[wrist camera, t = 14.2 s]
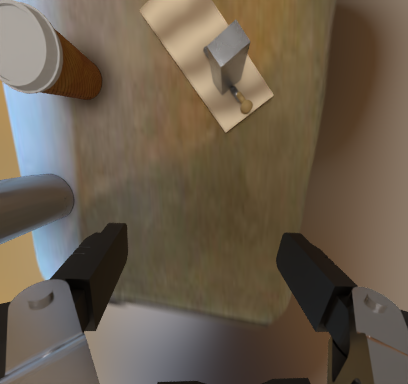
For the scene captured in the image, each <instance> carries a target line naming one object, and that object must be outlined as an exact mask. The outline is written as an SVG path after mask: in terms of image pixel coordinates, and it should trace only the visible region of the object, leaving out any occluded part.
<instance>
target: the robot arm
mask: <svg viewBox="0 0 408 384" xmlns="http://www.w3.org/2000/svg"><path fill="white" fill-rule="evenodd" d="M73 202H74V199H73V194H72V191H71V189H70V187H69V186H68V184H67V183H66V182H65V181H64V180H63V179H61V178H60V177H58V176H56V175H53V174H43V175H36V176H34V175H31V176H24V177H18V178H11V179H4V180H0V244H2V243H5V242H7V241H9V240H12V239H14V238H16V237H19V236H21V235H23V234H26V233H28V232H30V231H33V230H35V229H37V228H39V227H42V226H44V225H46V224H49V223H51V222H53V221H56V220H58V219H60V218H63V217H65V216H66V215H68V214H69V213H70V211H71V210H72V207H73ZM127 255H128V239H127V225H126V224H125V223H108V224H107V226H106V227H105V228H104V230H103V231H102V232H101V233H94V234H92V235H91V236H89V237H87V238H86V239H85V240H84V241H83V242H82V243H81V244H80V245H79V248H77V249H76V250H75V251H74V252H73V255H71V256H70V257H69V258H68V259H67V260H66V261H65V263H64V264H63V265H62V266H61V267H60V268H59V269H58V270H57V272H56V273H55V274H54V275H53V276H52V277H51V278H50V280H46V281H42V282H39V283H36V284H34V285H32V286H30V287H28V288H26V289H24V290H23V291H22V292H21V293H19V294H18V295H17V296H16V297H15V298H14V299H13V300H12V301H11V302H7V303H3V304H0V384H100V383H99V380H98V377H97V373H96V370H95V366H94V363H93V360H92V356H91V353H90V349H89V346H88V343H87V339H86V337H85V334H84V331H96V329H97V327H98V324H99V322H100V320H101V318H102V316H103V313H104V311H105V309H106V307H107V304H108V302H109V300H110V298H111V295H112V293H113V291H114V289H115V286H116V284H117V282H118V280H119V277H120V275H121V273H122V271H123V268H124V266H125V264H126V261H127ZM276 263H277V267H278V270H279V271H280V273H281V275H282V276H283V278H284V280H285V281H286V283H287V285H288V286H289V288H290V290H291V291H292V293H293V295H294V296H295V298H296V300H297V301H298V303H299V305H300V306H301V308H302V310H303V311H304V313H305V315H306V316H307V318H308V320H309V321H310V323H311V325H312V326H313V328H314V330H315V331H316V332H329V333H330V335H331V337H330V339H329V342H328V370H327V384H408V312H406V311H403V310H400V309H399V308H398V307H397V306H396V305H395V304H394V303H393V302H392V301H390V300H389V299H388V298H387V297H385V296H383V295H382V294H380V293H378V292H376V291H374V290H372V289H369V288H365V287H358V286H357V285H356V284H355V283H354V282H353V281H352V280H351V279H350V278H349V277H348V276H347V275H346V274H345V273H344V272H343V271H342V270H341V269H340V268H339V267H338V266H336V265H335V264H334V262H333V261H331V260H330V259H329V258H328V257H327V255H325V254H324V253H323V252H322V251H321V250H320V249H319V248H317V247H316V246H314V245H312V244H311V243H310V242H309V241H308V240H307V239H306V238H305V237H304V236H303V235H302V234H300V233H284V234H283V236H282V239H281V243H280V247H279V250H278V254H277V258H276ZM157 384H205V383H201V382H198V381H181V382H158V383H157ZM262 384H310V382H309V379H308V378H293V379H292V378H289V379H272V380H269V381H267V382H265V383H262Z"/></svg>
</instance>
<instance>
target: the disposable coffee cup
mask: <svg viewBox="0 0 408 384" xmlns="http://www.w3.org/2000/svg"><path fill="white" fill-rule="evenodd" d="M0 80H1V81H3V82H4V83H5V84H7V85H8V86H9V87H11V88H12V89H14V90H17V91H19V92H23V93H29V94H30V93H38V92H42V93H47V94H54V95H60V96H67V97H73V98H79V99H85V100H88V99H92V98H94V97H95V96H97V94H98V93H99V91H100V89H101V86H102V78H101V74H100V71H99V69H98V68H97V66H96V65H95V64H94V63H92V62H91V61H90V60H89V59H88V58H87V57H86V56H85V55H83V54H82V53H81V52H80V51H79V50H78V49H77V48H76V47H74V46H73V45H72V44H71V43H70V42H69V41H68V40H66V39H65V38H64V37H63V36H62V35H61V34H60V33H59V32H57V31H56V30H55V29H54V28H53V27H52V25H51V23H50V22H49V21H48V20H47V18H46V17H45V16H44V15H43V14H42V13H41V12H39V11H38V10H37V9H36V8H34V7H32V6H30V5H28V4H25V3H22V2H16V1H14V0H0Z"/></svg>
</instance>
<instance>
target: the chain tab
mask: <svg viewBox="0 0 408 384" xmlns="http://www.w3.org/2000/svg"><path fill="white" fill-rule="evenodd" d="M249 45H250V40H249V39H248V37H247V36H246V34H245V33H244V31H243V30H242V28H241V26H240V25H239V23H238V22H237V20H235V21H234V22H233V23H231V24H230V25H229V26H228V27H227V28H226V29H225V30H224V31H223V32H222V33H220V34H219V35H218V36H217V37H216V38H215V39H214V40H213V41H212V42H211V43H210V44H208V45H207V46H205V47H204V48H203V52H204V54H205V55H206V57H207V58H208V59H209V63H210V68H211V74H212V80H213V83H214V84H215V86H216V87H217V89H218V90H219V92H220V93H221V95H223V94H224V93H226V92H227V91H228V90H229V89H230V92H231V93H232V95H233V96H234V97H235V99H236V100H237V102H240V101H239V99H238V98H237V96H236V94H237V92H239V91H238V89H237V88H236V87H235V86H234V85H235V84H236V83H238V82H239V81H240V80H241V77H242V73H243V69H244V65H245V61H246V57H247V53H248V49H249Z"/></svg>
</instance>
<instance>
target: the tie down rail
mask: <svg viewBox="0 0 408 384" xmlns="http://www.w3.org/2000/svg"><path fill="white" fill-rule="evenodd" d="M139 11H140V12H141V14H142V15H143V17H144V19H145V20H146V21H147V23H148V24H149V26H150V27H151V28H152V30H153V31H154V33H155V34H156V35H157V37H158V38H159V40H160V41H161V42H162V44H163V45H164V47H165V48H166V50H167V51H168V52H169V54H170V55H171V57H172V58H173V59H174V61H175V62H176V64H177V65H178V66H179V68H180V69H181V71H182V72H183V74H184V75H185V76H186V78H187V79H188V81H189V82H190V83H191V85H192V86H193V88H194V89H195V90H196V92H197V93H198V95H199V96H200V98H201V99H202V100H203V102H204V103H205V105H206V106H207V107H208V109H209V110H210V112H211V113H212V114H213V116H214V117H215V119H216V120H217V122H218V123H219V124H220V126H221V127H222V129H223V130H224V131H225V133H226V132H228V131H229V130H230V129H232V128H233V127H234V126H235V125H237V124H238V123H239V122H241V121H242V120H243V119H244V118H246V117H247V116H248V115H250V114H251V113H252V112H253V111H255V110H256V109H257V108H259V107H260V106H261V105H262V104H264V103H265V102H266V101H268V100H269V99H270V98H271V97H272V96H273V93H272V92H271V90H270V88H269V87H268V85H267V84H266V82H265V81H264V79H263V78H262V76H261V75H260V73H259V72H258V70H257V69H256V67H255V66H254V64H253V62H252V61H251V59H250V58H249V56H248V55H247V57H246V61H245V65H244V69H243V73H242V77H241V80H240V81H239V82H238V83H236V84H235V85H234V86H235V87H236V88H237V89H238V91H239V92H237V94H236V96H237V98H238V99H239V101H240V102H237V100H236V99H235V97H234V96H233V95H232V93H231V92H230V89H229V90H228V91H227V92H226V93H224V94H223V95H221V93H220V92H219V90H218V89H217V87H216V86H215V84H214V83H213V80H212V74H211V68H210V63H209V59H208V58H207V57H206V55H205V54H204V52H203V48H204V47H205V46H207V45H208V44H210V43H211V42H212V41H213V40H214V39H215V38H216V37H217V36H218V35H219V34H220V33H222V32H223V31H224V30H225V29H226V28H227V27H228V24H227V23H226V21H225V20H224V18H223V17H222V15H221V14H220V12H219V11H218V9H217V7H216V6H215V4H214V3H213V1H212V0H149V1H148V2H147V3H146V4H145V5H144V6H143V7H142V8H141V9H140V10H139Z"/></svg>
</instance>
